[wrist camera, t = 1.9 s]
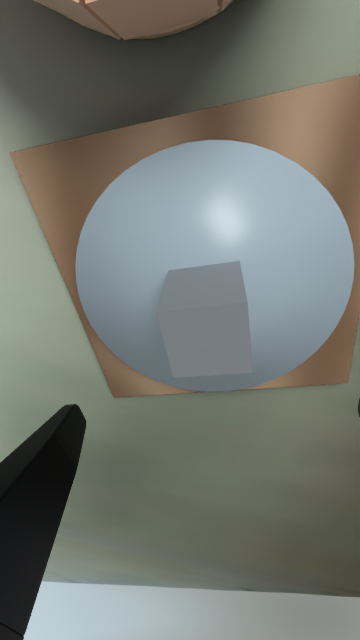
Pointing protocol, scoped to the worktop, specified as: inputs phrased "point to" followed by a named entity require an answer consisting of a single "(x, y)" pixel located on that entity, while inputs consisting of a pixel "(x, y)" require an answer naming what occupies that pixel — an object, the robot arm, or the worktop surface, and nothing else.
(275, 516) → the worktop surface
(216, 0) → the bowl
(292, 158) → the board
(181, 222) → the lid
